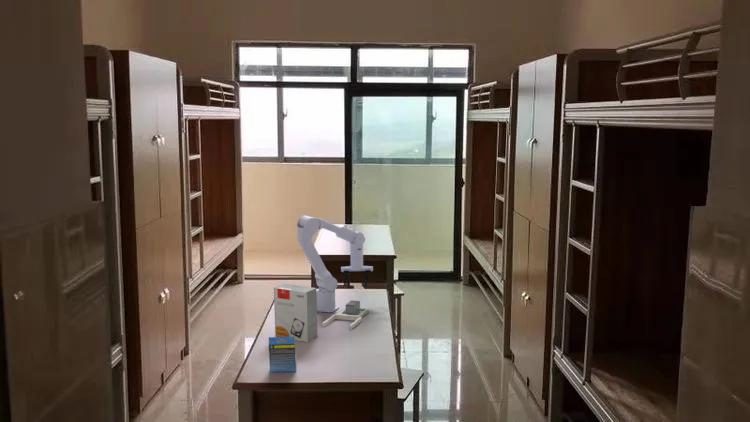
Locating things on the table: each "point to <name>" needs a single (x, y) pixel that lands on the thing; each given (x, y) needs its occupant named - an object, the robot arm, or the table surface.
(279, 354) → the label tape cartridge
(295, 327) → the hard drive box
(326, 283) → the robot arm
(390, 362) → the table surface
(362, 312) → the tray
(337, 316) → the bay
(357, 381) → the table surface
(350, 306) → the grey rectangular block
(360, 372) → the table surface
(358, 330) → the table surface
